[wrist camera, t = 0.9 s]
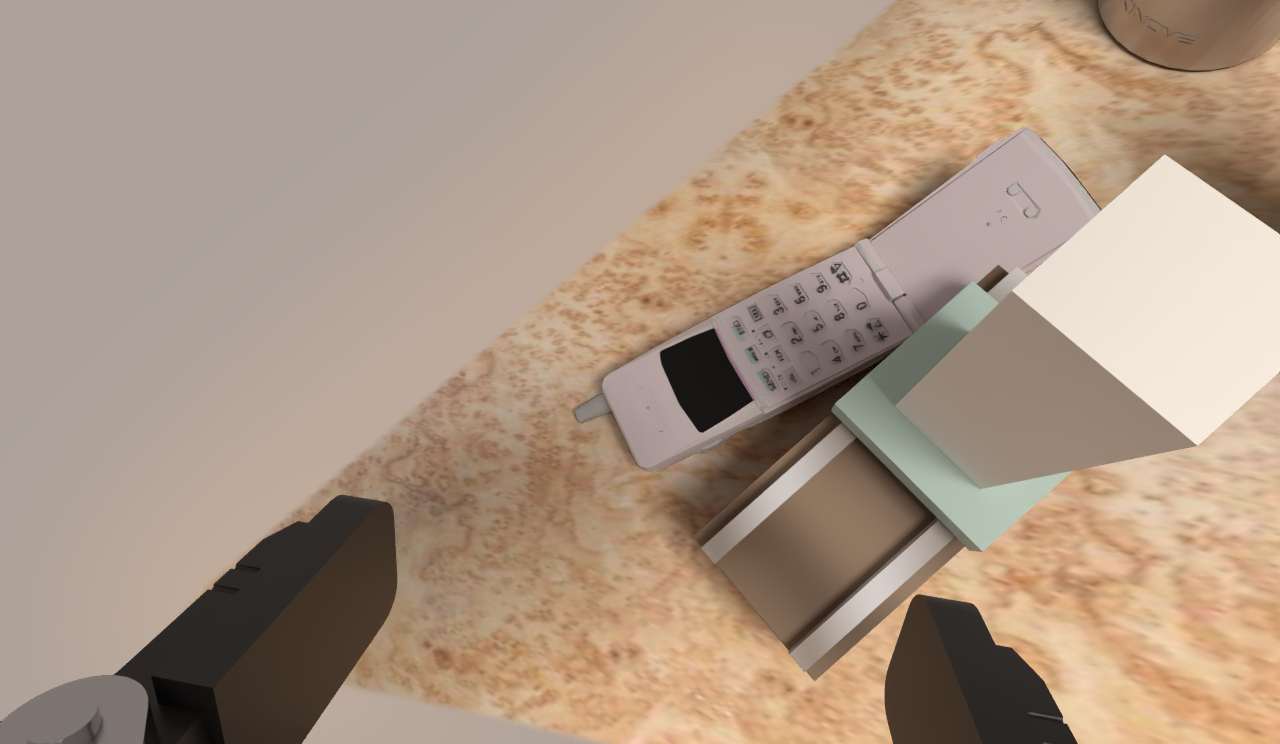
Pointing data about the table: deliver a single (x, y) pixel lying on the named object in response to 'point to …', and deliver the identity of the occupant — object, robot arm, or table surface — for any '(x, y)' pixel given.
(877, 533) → the walnut track
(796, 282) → the mobile phone
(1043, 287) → the white pillar on base
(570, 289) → the table surface
